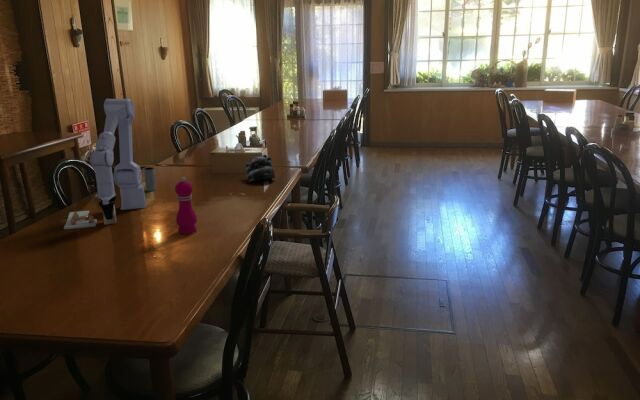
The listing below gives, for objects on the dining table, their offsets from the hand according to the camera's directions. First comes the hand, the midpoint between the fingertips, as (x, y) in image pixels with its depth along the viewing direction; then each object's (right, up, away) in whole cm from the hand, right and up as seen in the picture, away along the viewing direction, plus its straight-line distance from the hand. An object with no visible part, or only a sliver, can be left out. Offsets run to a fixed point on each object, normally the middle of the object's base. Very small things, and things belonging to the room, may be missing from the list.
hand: (109, 217), depth 192 cm
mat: (-16, +1, +9) cm, 18 cm away
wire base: (-11, -2, 0) cm, 11 cm away
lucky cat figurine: (+49, +16, +59) cm, 78 cm away
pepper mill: (+32, -5, -10) cm, 34 cm away
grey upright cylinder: (+1, +11, +43) cm, 45 cm away
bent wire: (-10, -1, +1) cm, 10 cm away
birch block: (0, -2, +1) cm, 2 cm away
